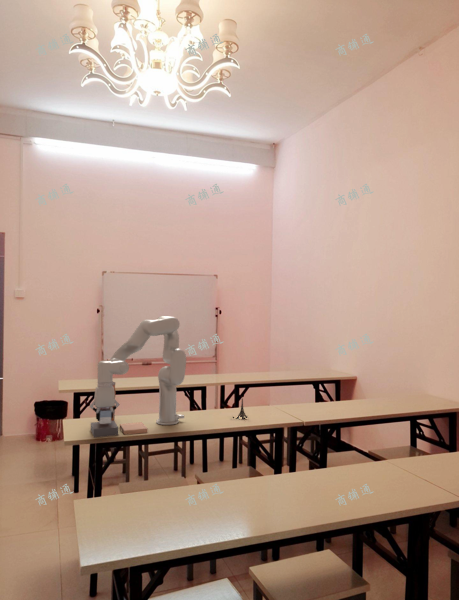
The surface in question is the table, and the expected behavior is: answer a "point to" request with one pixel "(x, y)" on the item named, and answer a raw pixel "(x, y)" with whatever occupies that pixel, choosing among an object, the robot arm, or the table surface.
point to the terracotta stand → (133, 428)
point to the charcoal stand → (104, 429)
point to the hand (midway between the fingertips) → (104, 419)
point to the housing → (104, 415)
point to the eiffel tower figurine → (242, 412)
